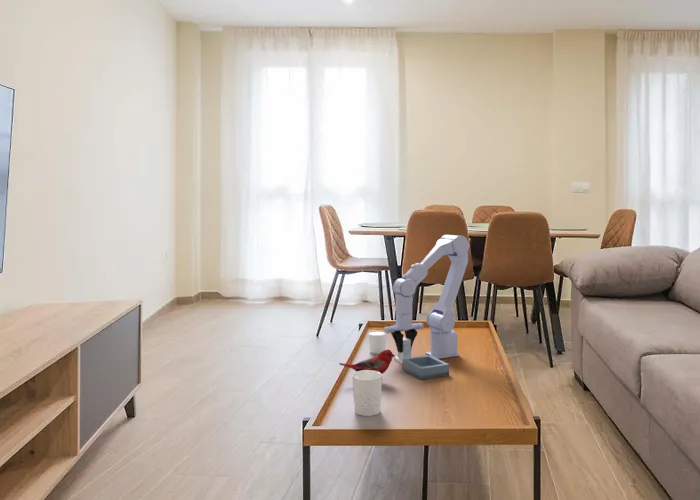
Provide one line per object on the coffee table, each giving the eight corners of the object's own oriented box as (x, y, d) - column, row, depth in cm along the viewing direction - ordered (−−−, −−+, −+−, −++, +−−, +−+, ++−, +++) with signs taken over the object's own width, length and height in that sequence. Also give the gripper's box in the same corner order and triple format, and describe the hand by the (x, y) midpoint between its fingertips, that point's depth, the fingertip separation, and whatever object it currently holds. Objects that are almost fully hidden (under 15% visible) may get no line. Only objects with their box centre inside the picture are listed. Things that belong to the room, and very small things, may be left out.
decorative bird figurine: (396, 382, 159) (396, 350, 158) (339, 384, 157) (338, 352, 157) (395, 379, 161) (394, 348, 161) (338, 381, 160) (338, 350, 159)
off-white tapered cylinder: (385, 354, 189) (385, 335, 188) (367, 353, 190) (366, 335, 190) (387, 349, 196) (387, 331, 195) (370, 348, 197) (369, 330, 197)
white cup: (351, 406, 140) (350, 370, 139) (380, 405, 140) (379, 369, 140) (354, 418, 132) (353, 380, 131) (384, 416, 133) (384, 379, 132)
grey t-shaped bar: (406, 357, 184) (406, 335, 184) (414, 362, 179) (414, 339, 178) (394, 359, 182) (393, 337, 182) (402, 364, 177) (402, 341, 176)
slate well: (429, 365, 175) (429, 355, 175) (449, 374, 165) (449, 364, 164) (403, 369, 171) (402, 359, 171) (421, 379, 160) (421, 368, 160)
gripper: (416, 309, 186) (416, 346, 187) (380, 313, 180) (380, 351, 181) (426, 312, 179) (426, 350, 180) (389, 316, 173) (390, 356, 175)
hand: (404, 351), depth 180 cm, fingers closed on grey t-shaped bar, 3 cm apart
